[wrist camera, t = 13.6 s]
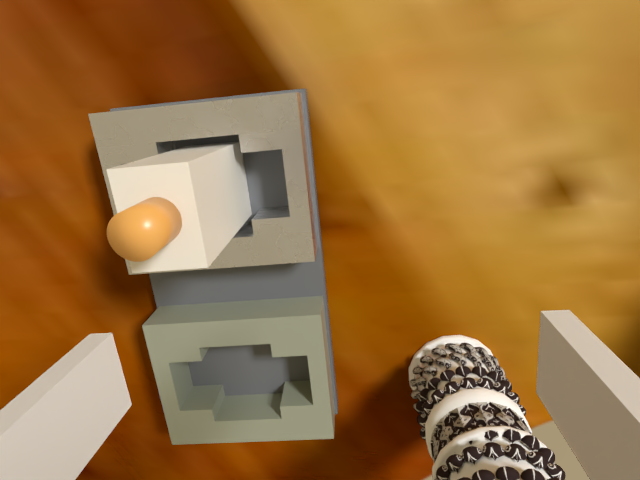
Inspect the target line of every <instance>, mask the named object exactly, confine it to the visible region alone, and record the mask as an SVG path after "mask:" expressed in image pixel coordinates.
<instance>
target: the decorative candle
mask: <svg viewBox="0 0 640 480" xmlns="http://www.w3.org/2000/svg"><path fill="white" fill-rule="evenodd" d="M408 371H409V384H410V386H411V388H412V390H413V391H412V393H411V396H412V398H414V399H418V400H419V402H417V403H415V404H414V405H413V407H414V409H415V410H416V411H417V412H418V413H419V414H420V415H419V416H418V417H417V422H418V423H419V424H420V426H421V427H423V428H421V430H420V435H421V437H422V438H423V439H424V440H426V443H427V447H428V451H429V454H430V455H431V457H432V459H433V462H434V465H433V467H432V478H433V480H564V479H565V472H564V471H563V469H562V468H561V467H560V466H558V465H557V464H555V463H554V461H555V455H554V453H553V451H551V450H550V449H548V448H547V447H546V445H545V444H543V443H542V442H541V441H539V440H538V439H537V438H536V437H534V436H533V435H532V431H531V429H530V427H529V425H528V423H527V421H526V419H525V417H524V416H525V414H526V410H525V408H524V407H523V406H522V405H520V404H519V396H518V395H517V394H516V393H514V392H511V390H512V385H511V383H510V382H509V381H508V379H507V378H506V377H505V372H504V370H503V369H502V368H501V367H500V366H499V363H498V360H497V359H496V358H495V357H494V356H493V355H492V353H491V351H490V349H488V348H487V347H486V346H485V345H483V344H482V343H481V342H480V341H478V340H477V339H474V338H470V337H466V336H463V335H449V336H441V337H439V338H437V339H434V340H432V341H430V342H427V343H426V344H425V345H424V346H423V347H421V348H420V349H419V350H418V351H417V352H416V353H415V354H414V356H413V359H412V361H411V363H410V366H409V368H408Z"/></svg>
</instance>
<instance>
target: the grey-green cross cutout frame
mask: <svg viewBox="0 0 640 480" xmlns="http://www.w3.org/2000/svg"><path fill="white" fill-rule="evenodd" d="M142 328H143V332H144V336H145V340H146V344H147V348H148V351H149V355H150V359H151V363H152V367H153V371H154V375H155V379H156V383H157V387H158V391H159V395H160V399H161V403H162V407H163V411H164V415H165V419H166V423H167V426H168V430H169V434H170V438H171V442H172V445H177V444H204V443H232V442H259V441H286V440H313V439H334V426H335V407H334V398H333V388H332V379H331V369H330V359H329V350H328V340H327V330H326V321H325V311H324V302H323V296H312V297H297V298H281V299H266V300H250V301H235V302H219V303H204V304H188V305H173V306H159V307H158V308H157V309H156V311H155V312H154V313H153V314H152V315H151V316H150V317H149V318H148V319H147V321H146V322H145V323H144V324H143V325H142ZM258 344H270V345H271V352H272V357H288V356H307V358H308V366H309V374H310V380H306V381H286V382H285V384H284V389H283V393H275V394H253V395H231V396H225V393H224V388H223V385H203V386H193V383H192V379H191V374H190V370H189V365H188V362H194V361H202V360H203V358H204V356H205V354H206V353H207V351H208V349H209V347H222V346H240V345H258Z"/></svg>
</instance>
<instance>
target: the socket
mask: <svg viewBox="0 0 640 480" xmlns="http://www.w3.org/2000/svg"><path fill="white" fill-rule="evenodd" d="M88 115H89V119H90V123H91V127H92V131H93V135H94V139H95V143H96V147H97V151H98V155H99V159H100V163H101V167H102V170H103V174H104V178H105V182H106V186H107V190H108V194H109V198H110V202H111V206H112V210H113V214H114V215H116V214H117V210H116V206H115V202H114V198H113V194H112V190H111V186H110V182H109V178H108V174H107V170H106V169H109V168H113V167H116V166H120V165H123V164H127V163H130V162H134V161H137V160H141V159H144V158H148V157H151V156H155V155H158V154H161V153H165V152H168V151H172V150H175V149H176V146H175V141H176V140H186V139H196V138H207V137H217V136H227V135H237V134H238V135H239V141H240V148H241V153H246V152H257V151H267V150H278V149H282V155H283V163H284V171H285V179H286V188H287V196H288V204H289V206H287V207H275V208H263V209H260V210H259V211H258V212H257V213H256V215H255V216H254V217H253V219H252V225H243V226H242V227H241V228H240V229H239V231H238V232H237V233H236V234H235V235H234V237H233V238H232V239H231V240H230V242H229V243H228V244H227V245H226V247H225V248H224V249H223V250H222V251H221V253H220V254H219V255H218V256H217V258H216V259H215V260H214V261H213V262H212V264H211V265H210V266H209V267H208V268H198V269H184V270H170V271H156V272H142V273H132V270H131V266H130V262H129V260H126V259H125V261H126V265H127V269H128V273H129V275H132V274H147V273H161V272H175V271H189V270H203V269H217V268H231V267H245V266H259V265H273V264H287V263H301V262H315V258H316V253H317V248H318V245H317V236H316V226H315V216H314V207H313V197H312V188H311V178H310V168H309V159H308V149H307V140H306V130H305V120H304V111H303V101H302V93H298V92H294V93H284V94H275V95H265V96H256V97H246V98H237V99H227V100H217V101H208V102H198V103H189V104H179V105H170V106H160V107H150V108H141V109H131V110H122V111H112V112H103V113H93V114H88Z"/></svg>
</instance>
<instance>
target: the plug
mask: <svg viewBox="0 0 640 480" xmlns="http://www.w3.org/2000/svg"><path fill="white" fill-rule="evenodd" d="M106 170H107V174H108V178H109V182H110V186H111V190H112V194H113V198H114V202H115V206H116V210H117V214H116V215H114V216H113V217H112V218H111V220H110V221H109V223H108V226H107V238H108V242H109V244H110V246H111V247H112V249H113V250H114V251H115V252H116V253H117V254H118V255H119V256H121V257H122V258H124V259H126V260H129V262H130V266H131V270H132V273H142V272H156V271H170V270H184V269H198V268H208V267H209V266H210V265H211V264H212V262H213V261H214V260H215V259H216V258H217V256H218V255H219V254H220V253H221V251H222V250H223V249H224V248H225V247H226V245H227V244H228V243H229V242H230V240H231V239H232V238H233V237H234V235H235V234H236V233H237V232H238V231H239V229H240V228H241V227H242V226H243V224H244V223H245V222H246V221H247V220H248V218H249V217H250V216H251V215H252V212H251V206H250V199H249V192H248V186H247V179H246V172H245V166H244V159H243V153H241V148H240V141H237V142H227V143H217V144H206V145H196V146H186V147H182V148H179V149H175V150H172V151H168V152H165V153H161V154H158V155H155V156H151V157H148V158H144V159H141V160H137V161H134V162H130V163H127V164H123V165H120V166H116V167H113V168H109V169H106Z"/></svg>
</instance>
